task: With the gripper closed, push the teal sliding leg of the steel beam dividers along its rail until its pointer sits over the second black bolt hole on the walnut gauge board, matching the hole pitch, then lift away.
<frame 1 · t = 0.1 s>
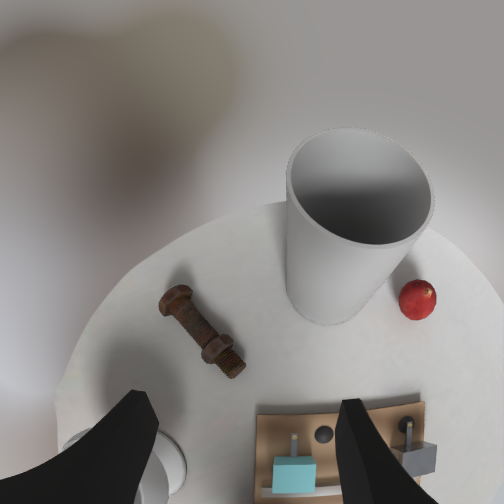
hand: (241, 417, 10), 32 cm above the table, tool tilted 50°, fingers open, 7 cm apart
gauge board: (342, 463, 32), on the table
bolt: (207, 337, 43), on the table
onion: (407, 307, 42), on the table
sliding leg: (294, 462, 30), point 4 cm above the table, slide at 0.0 cm
cylinder vase: (327, 286, 45), on the table
chalice: (149, 463, 35), on the table
fixed leg: (401, 454, 32), resting on gauge board
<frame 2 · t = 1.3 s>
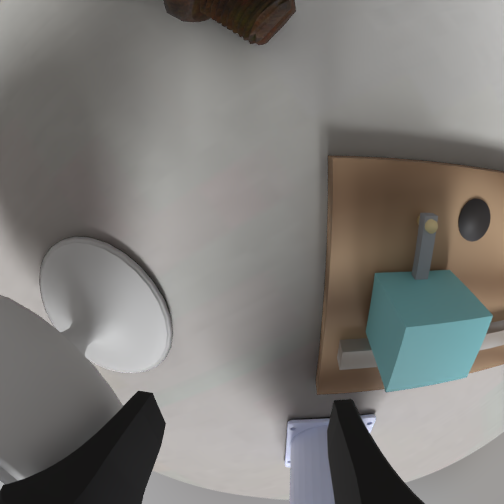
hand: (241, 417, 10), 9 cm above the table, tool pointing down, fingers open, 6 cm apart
gauge board: (479, 281, 17), on the table
sliding leg: (431, 297, 13), point 4 cm above the table, slide at 0.0 cm
chalice: (101, 309, 21), on the table
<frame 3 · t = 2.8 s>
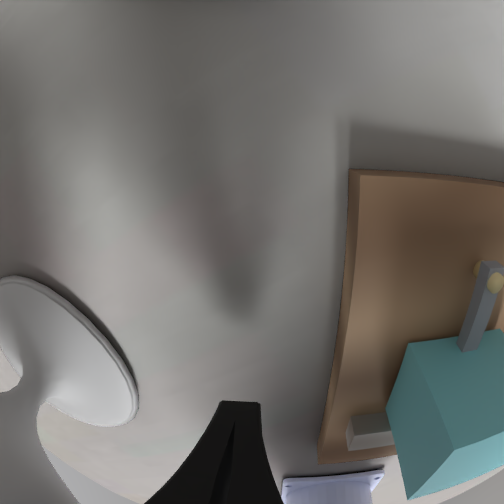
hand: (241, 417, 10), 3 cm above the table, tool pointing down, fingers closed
sliding leg: (483, 381, 7), point 4 cm above the table, slide at 0.0 cm
chalice: (57, 357, 15), on the table
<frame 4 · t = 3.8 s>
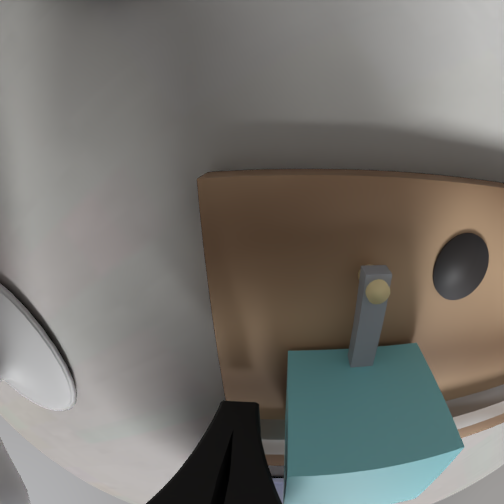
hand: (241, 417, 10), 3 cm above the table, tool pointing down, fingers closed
gauge board: (465, 341, 12), on the table
sliding leg: (368, 404, 8), point 4 cm above the table, slide at 0.1 cm, touching gripper
chalice: (15, 345, 15), on the table
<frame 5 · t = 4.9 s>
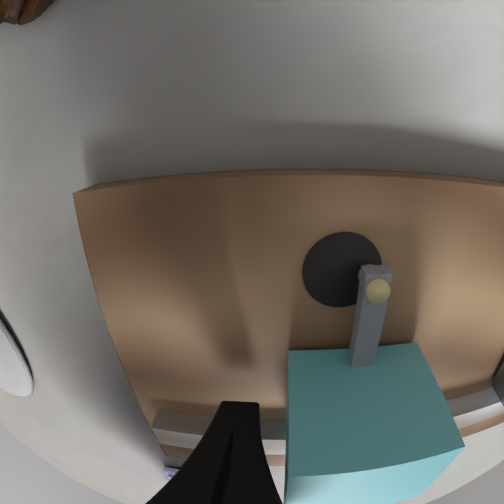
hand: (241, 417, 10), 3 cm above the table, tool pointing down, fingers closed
gauge board: (388, 352, 12), on the table
sliding leg: (369, 404, 8), point 4 cm above the table, slide at 4.8 cm, touching gripper
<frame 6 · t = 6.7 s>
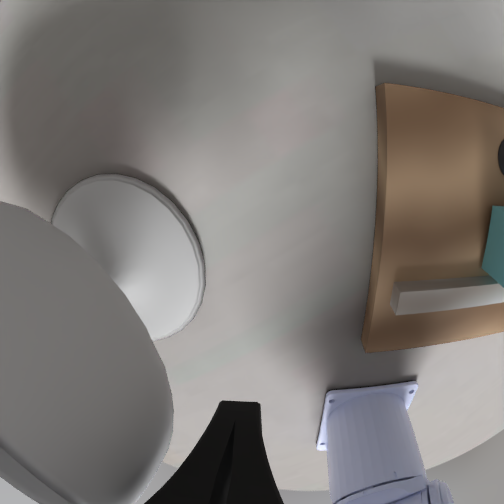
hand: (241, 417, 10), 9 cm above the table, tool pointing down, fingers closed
chalice: (120, 263, 19), on the table
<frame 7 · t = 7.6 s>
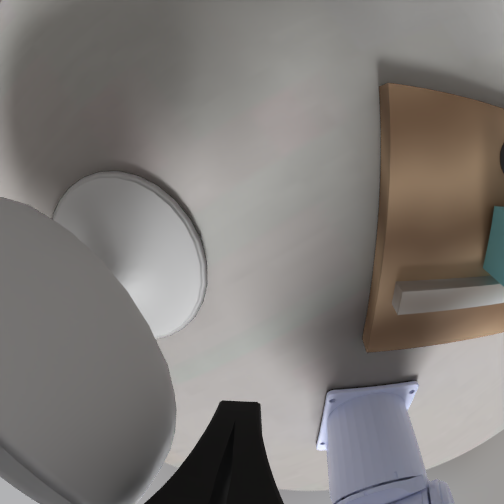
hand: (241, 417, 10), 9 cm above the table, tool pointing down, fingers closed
chalice: (121, 261, 19), on the table
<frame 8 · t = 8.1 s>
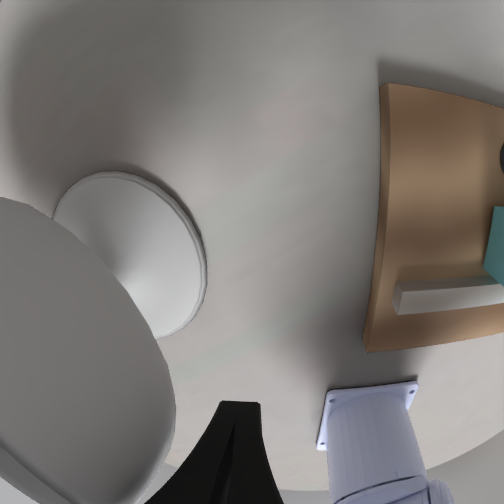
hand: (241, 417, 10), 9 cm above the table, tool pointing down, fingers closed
chalice: (121, 261, 19), on the table
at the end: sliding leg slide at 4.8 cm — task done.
